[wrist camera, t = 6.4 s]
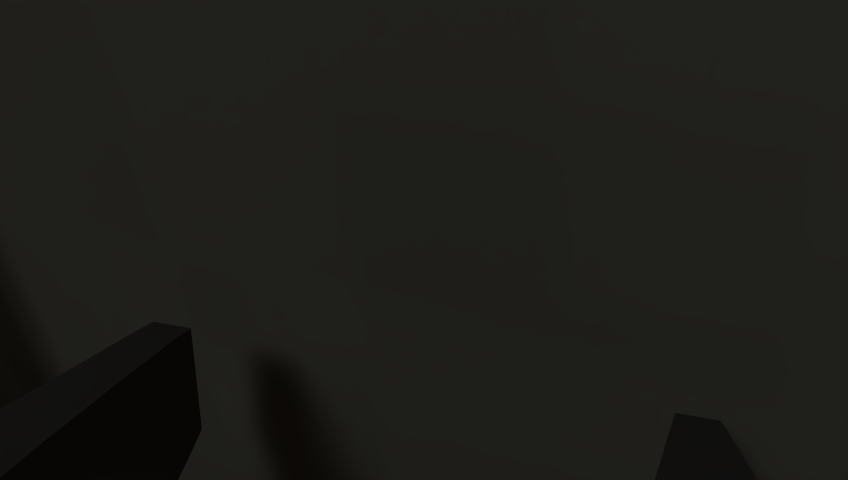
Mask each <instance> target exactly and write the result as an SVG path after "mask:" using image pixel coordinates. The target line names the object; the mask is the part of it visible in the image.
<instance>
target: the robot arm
mask: <svg viewBox="0 0 848 480" xmlns="http://www.w3.org/2000/svg"><path fill="white" fill-rule="evenodd" d="M201 429H202V427H201V418H200V409H199V400H198V391H197V381H196V372H195V363H194V354H193V345H192V336H191V328H185V327H180V326H174V325H168V324H163V323H157V322H153V323H151V324H149V325H147V326H145V327H143V328H141V329H139V330H137V331H136V332H134V333H132V334H130V335H128V336H127V337H125V338H123V339H121V340H120V341H118V342H116V343H115V344H113V345H111V346H109V347H108V348H106V349H104V350H103V351H101V352H99V353H97V354H96V355H94V356H92V357H91V358H89V359H87V360H86V361H84V362H82V363H80V364H79V365H77V366H75V367H74V368H72V369H70V370H68V371H67V372H65V373H63V374H61V375H60V376H58V377H56V378H54V379H53V380H51V381H49V382H47V383H46V384H44V385H42V386H40V387H39V388H37V389H35V390H33V391H32V392H30V393H28V394H26V395H25V396H23V397H21V398H19V399H17V400H15V401H13V402H11V403H10V404H8V405H6V406H4V407H2V408H0V480H178V478H179V476H180V474H181V472H182V470H183V468H184V466H185V464H186V462H187V460H188V458H189V456H190V454H191V451H192V449H193V447H194V445H195V443H196V440H197V438H198V436H199V434H200V432H201ZM655 480H758V479H757V477H756V475H755V474H754V472H753V471H752V469H751V467H750V466H749V464H748V463H747V461H746V460H745V458H744V456H743V455H742V453H741V451H740V450H739V448H738V447H737V445H736V443H735V442H734V440H733V439H732V437H731V435H730V434H729V432H728V431H727V429H726V428H725V426H724V425H723V424H722V422H721V421H718V420H712V419H706V418H701V417H695V416H689V415H683V414H678V413H675V416H674V419H673V422H672V426H671V429H670V432H669V436H668V439H667V442H666V445H665V449H664V452H663V455H662V459H661V462H660V465H659V468H658V472H657V475H656V478H655Z"/></svg>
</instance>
